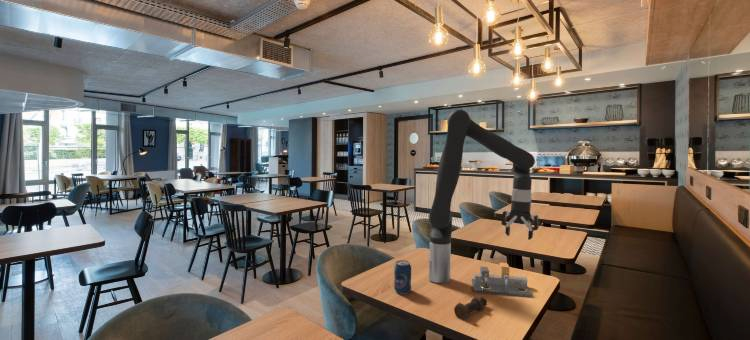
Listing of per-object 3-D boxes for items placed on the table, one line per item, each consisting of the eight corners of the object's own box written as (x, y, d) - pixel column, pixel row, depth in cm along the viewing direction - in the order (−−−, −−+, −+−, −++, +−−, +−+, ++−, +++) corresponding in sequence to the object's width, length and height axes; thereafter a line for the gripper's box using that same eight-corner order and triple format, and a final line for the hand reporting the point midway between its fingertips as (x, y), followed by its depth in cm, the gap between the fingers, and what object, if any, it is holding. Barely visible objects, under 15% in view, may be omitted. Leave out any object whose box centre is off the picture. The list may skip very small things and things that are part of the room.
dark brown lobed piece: (485, 311, 127) (461, 324, 117) (475, 300, 130) (451, 312, 120) (493, 301, 124) (469, 312, 114) (482, 290, 127) (458, 301, 118)
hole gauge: (474, 292, 138) (474, 275, 138) (471, 280, 150) (472, 265, 150) (531, 297, 134) (532, 280, 134) (524, 284, 146) (524, 268, 146)
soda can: (391, 293, 138) (392, 264, 137) (397, 286, 144) (397, 258, 143) (408, 296, 135) (408, 266, 134) (413, 289, 142) (413, 261, 141)
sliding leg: (502, 286, 140) (503, 269, 139) (499, 278, 147) (499, 262, 147) (510, 286, 139) (510, 269, 139) (506, 279, 147) (506, 263, 146)
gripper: (501, 198, 143) (499, 236, 145) (538, 203, 135) (535, 242, 136) (505, 196, 149) (503, 232, 151) (541, 200, 141) (538, 238, 143)
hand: (518, 237), depth 144 cm, fingers open, 8 cm apart
